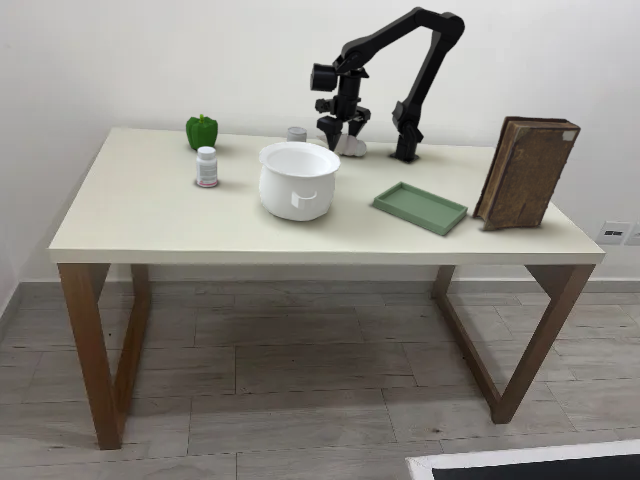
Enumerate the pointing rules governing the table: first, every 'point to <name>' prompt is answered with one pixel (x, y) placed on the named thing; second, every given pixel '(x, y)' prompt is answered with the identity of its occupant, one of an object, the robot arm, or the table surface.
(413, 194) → the tray
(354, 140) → the ice cream cone
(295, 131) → the beverage can
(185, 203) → the table surface
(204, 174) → the pill bottle
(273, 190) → the pot
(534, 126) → the book
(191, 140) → the bell pepper
